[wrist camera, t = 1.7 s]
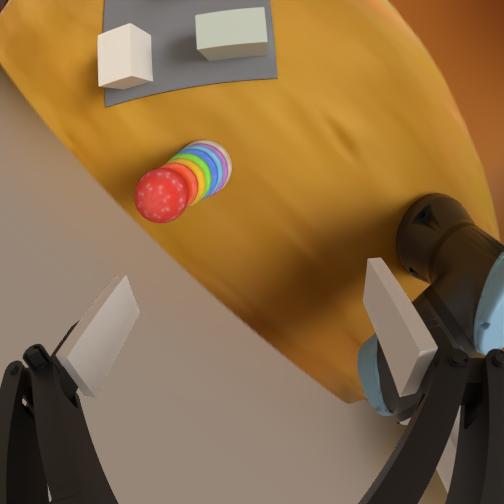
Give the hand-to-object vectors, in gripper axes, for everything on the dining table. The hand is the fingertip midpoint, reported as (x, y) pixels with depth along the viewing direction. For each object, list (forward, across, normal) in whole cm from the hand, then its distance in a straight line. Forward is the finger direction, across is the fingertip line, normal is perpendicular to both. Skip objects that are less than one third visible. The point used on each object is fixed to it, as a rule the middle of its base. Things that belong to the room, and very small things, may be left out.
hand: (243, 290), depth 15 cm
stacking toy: (+28, +7, -3) cm, 29 cm away
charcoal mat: (+28, +8, -28) cm, 40 cm away
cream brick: (+28, +16, -21) cm, 38 cm away
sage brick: (+27, +1, -20) cm, 34 cm away
